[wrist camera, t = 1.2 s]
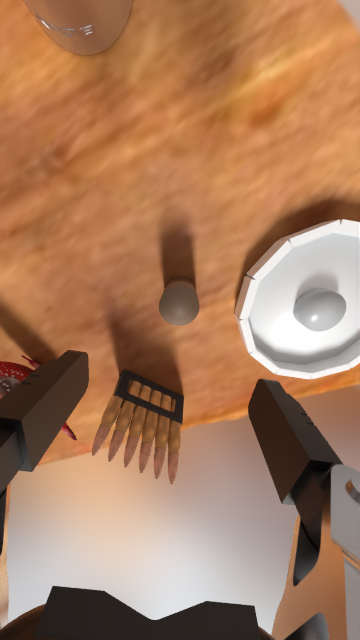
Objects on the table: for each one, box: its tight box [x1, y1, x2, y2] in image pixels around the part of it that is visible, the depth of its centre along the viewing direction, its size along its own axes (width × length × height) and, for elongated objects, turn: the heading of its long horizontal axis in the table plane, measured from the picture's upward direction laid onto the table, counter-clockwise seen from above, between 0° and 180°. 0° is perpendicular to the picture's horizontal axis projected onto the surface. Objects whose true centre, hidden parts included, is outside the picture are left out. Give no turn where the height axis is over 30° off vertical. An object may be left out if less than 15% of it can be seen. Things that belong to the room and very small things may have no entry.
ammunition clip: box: [92, 370, 184, 484], centre depth 25 cm, size 11×2×12 cm, turn 60°
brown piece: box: [159, 277, 199, 326], centre depth 22 cm, size 4×4×6 cm
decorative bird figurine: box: [0, 355, 77, 440], centre depth 25 cm, size 3×18×10 cm, turn 42°
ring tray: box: [235, 219, 360, 379], centre depth 23 cm, size 19×19×2 cm
